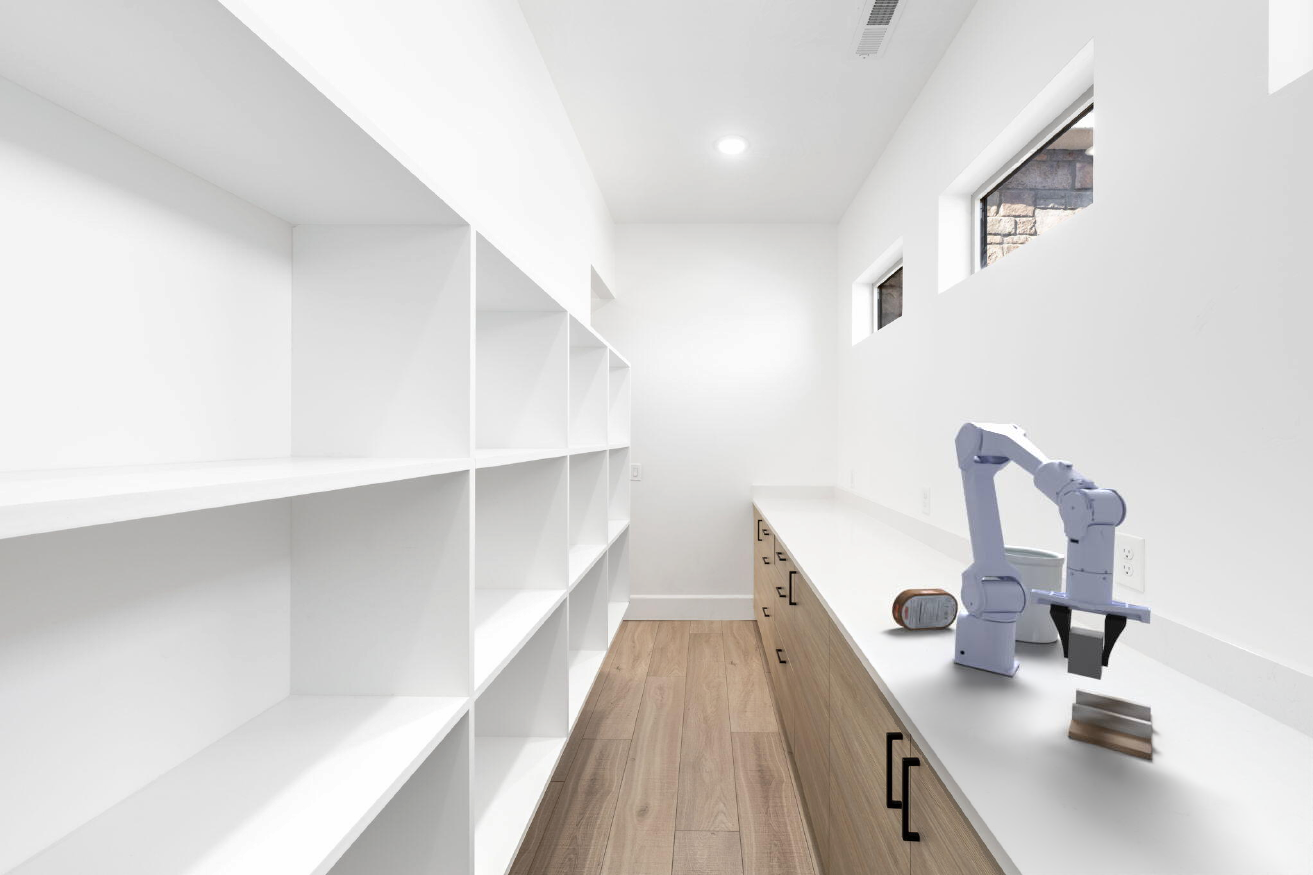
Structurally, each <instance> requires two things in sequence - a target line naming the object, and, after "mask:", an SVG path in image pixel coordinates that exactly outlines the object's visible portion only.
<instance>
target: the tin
mask: <svg viewBox="0 0 1313 875" xmlns="http://www.w3.org/2000/svg"><path fill="white" fill-rule="evenodd" d="M958 603H959V602H958V601H957V599H956V597H955V596H954V595H953V594H951V593H950V592H948V591H946V590H944V589H942V588H910V589H905V590H903V591H902V592H900V593H899V594H898V595H897V596H896V597H895V599H894V601H893V604H892V607H891V615H892V617H893V620H894V622H895V623H896V624H897V625H899V626H900V627H902V628H904V629H907V630H909V631H928V630H929V631H931V630H943V629H947V628H949V627H950V626H951V625H953V624H954V622H955V621H956V620H957V617H958V613H959V612H958V610H959V608H958V607H959V605H958Z"/></svg>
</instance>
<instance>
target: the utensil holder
mask: <svg viewBox="0 0 1313 875" xmlns="http://www.w3.org/2000/svg"><path fill="white" fill-rule="evenodd" d="M1004 548H1005V554H1006V560H1007V562H1008V563H1009V564H1010V565H1012V566H1013V567H1014V568H1016V569H1017V570H1018V571H1019V572H1020V573H1021V578H1022V582H1023V584H1024V586H1025V588H1026V590H1027V593H1028V597H1029V602H1028V607H1027V609H1026V611H1025V612H1024V613H1022V614H1020V619H1018V620H1016V633H1015V641H1019V642H1025V643H1036V644H1049V643H1053V642H1056V641H1057V640H1058V636H1059V633H1058V631H1057V628H1056V626H1055V624H1054V622H1053V620H1052V618H1051V615H1050V607H1051V606H1049V605H1043V604H1038V605H1037V604H1031V603H1030V602H1031V591H1032V590H1033V589H1036V590H1044V591H1053V592H1062V584H1063V566H1064V564H1065V560H1066V559H1065V555H1064V554H1061V553H1058V552H1054V551H1050V550H1045V549H1040V548H1039V549H1038V548H1033V547H1026V546H1024V547H1023V546H1014V545H1005V544H1004ZM983 580H999V579H998V578H995V577H984V578H983Z"/></svg>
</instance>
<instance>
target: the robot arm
mask: <svg viewBox="0 0 1313 875" xmlns="http://www.w3.org/2000/svg"><path fill="white" fill-rule="evenodd" d="M954 443H955V444H954V445H955V451H956V459H957V465H958V469H960V473H961V481H962V487H963V494H964V495H963V496H964V500H965V501H964V502H965V508H966V516H967V521H968V522H967V523H968V530H969V536H970V537H969V538H970V542H971V549H972V550H971V551H972V557H973V562H972V563H971V564H970V565H969V566H968V567H966V569H965V570H964V571H963V572H961V584H962V585H961V588H960V599H961V602H962V605H963V607H964V608H965V610H960V611H959V612H958V613H957V617H956V625H955V641H954V642H955V643H954V644H955V645H954V659H953V662H954V663H955V664H960V665H964V666H967V667H972V668H976V669H981V670H985V671H989V672H993V673H996V674H1001V675H1005V676H1010V677H1012V676H1014V674H1015V673H1016V671H1017V669H1018V667H1019V666H1020V661H1018V660H1015V651H1016V650H1015V649H1016V640H1015V633H1016V620H1018V619H1020V614H1022V613H1024V612H1025V611H1026V609H1027V607H1028V602H1029V597H1028V593H1027V590H1026V588H1025V586H1024V584H1023V582H1022V578H1021V573H1020V572H1019V571H1018V570H1017V569H1016V568H1014V567H1013V566H1012V565H1010V564H1009V563H1008V562H1007V560H1006V554H1005V548H1004V545H1005V542H1004V538H1003V530H1002V524H1001V523H1002V522H1001V516H1000V511H999V510H1000V509H999V505H998V498H997V492H996V485H995V480H994V478H995V476H996V474H997V473H998V472H1000V471H1002V470H1003V469H1005V468H1006V467H1007V466H1008V464H1010V463H1011V462H1013V463H1015V464H1017V465H1018V466H1019V467H1021V469H1023V470H1024V471H1026V472H1027V473H1029V474H1030V475H1032V476H1033V478H1032V479H1033V484H1034V487H1036V489H1037V490H1039V491H1040V492H1041V493H1042V494H1043V495H1044V496H1046V497H1047V498H1048V499H1050V500H1049V501H1051V502H1053V503H1054V504H1055V505H1056V506H1057V507H1058V512H1059V513H1058V514H1059V516H1060V518H1061V520H1062V523H1063V529H1064V530H1063V533H1065V537H1067V546H1066V547H1067V548H1066V568H1065V569H1066V571H1065V572H1066V575H1065V592H1062V591H1061V592H1053V591H1044V590H1036V589H1033V590H1032V591H1031V602H1030V603H1031V604H1037V605H1038V604H1043V605H1049V606H1051V607H1050V615H1051V618H1052V620H1053V622H1054V624H1055V626H1056V628H1057V631H1058V636H1059V639H1060V642H1061V647H1062V651H1063V652H1062V653H1063V659H1067V660H1068V648H1069V631H1070V629H1071V627H1072V626H1071V625H1072V613H1073V611H1080V612H1083V613H1084V612H1085V613H1090V614H1097V615H1102V616H1105V618H1104V626H1103V627H1104V631H1103V632H1104V643H1103V655H1102V666H1103V667H1105V668H1108V666H1109V661H1110V660H1109V659H1110V656H1111V653H1112V650H1113V648H1114V647H1115V645H1116V643H1117V640H1118V639H1119V637H1120V635H1121V634H1122V632H1124V630H1125V628H1126V627H1127V623H1128V620H1131V621H1137V622H1140V623H1141V624H1142V623H1143V624H1149V625H1150V624H1151V607H1147V606H1143V605H1136V604H1132V603H1128V602H1123V601H1118V600H1113V591H1114V590H1113V585H1114V583H1113V582H1114V566H1115V564H1114V563H1115V562H1114V561H1115V540H1116V528H1117V527H1119V526H1120V525H1122V523H1123V522H1124V521H1125V519H1126V517H1127V512H1128V511H1127V505H1126V501H1125V499H1124V498H1123V497H1122V495H1121V494H1120V493H1119V492H1118V491H1117V490H1116V489H1115V488H1108V487H1107V488H1105V487H1104V488H1101V487H1099V486H1096V484H1095V482H1094V481H1093V480H1092V479H1090V478H1086V477H1085V476H1083V475H1082V474H1081V473H1080V472H1078V471H1077V470H1075V469H1074V468H1073V467H1074V464H1073V463H1071V462H1070V461H1067V460H1057V459H1056V460H1055V459H1054V460H1051V459H1050V458H1048V456H1046V455H1045V454H1044V453H1043V452H1041V451H1042V450H1040V449H1038V447H1036V446H1035V445H1034V444H1033V443H1032V442H1031V441H1029V439H1028V438H1027V432H1026V431H1025V430H1023V429H1021V428H1020V427H1019V426H1018V425H1016V424H1014V423H1008V424H1000V423H999V424H998V423H980V422H979V423H975V422H969V421H968V422H966V423H963V425H962V426H961V427H960V429H959V430H958V432H957V435H956V437H955V439H954ZM984 577H995V578H998V579H999V580H984Z"/></svg>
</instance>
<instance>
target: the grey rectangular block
mask: <svg viewBox="0 0 1313 875" xmlns="http://www.w3.org/2000/svg"><path fill="white" fill-rule="evenodd" d="M1103 648H1104V631H1100V630H1095V629H1094V630H1093V629H1088V628H1083V627H1078V626H1074V625H1072V626H1071V629H1070V631H1069V648H1068V659H1067V673H1068V674H1073V675H1077V676H1080V677H1087V678H1091V679H1094V680H1099V681H1101V680H1102V676H1103V667H1104V666H1102V655H1103Z"/></svg>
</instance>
